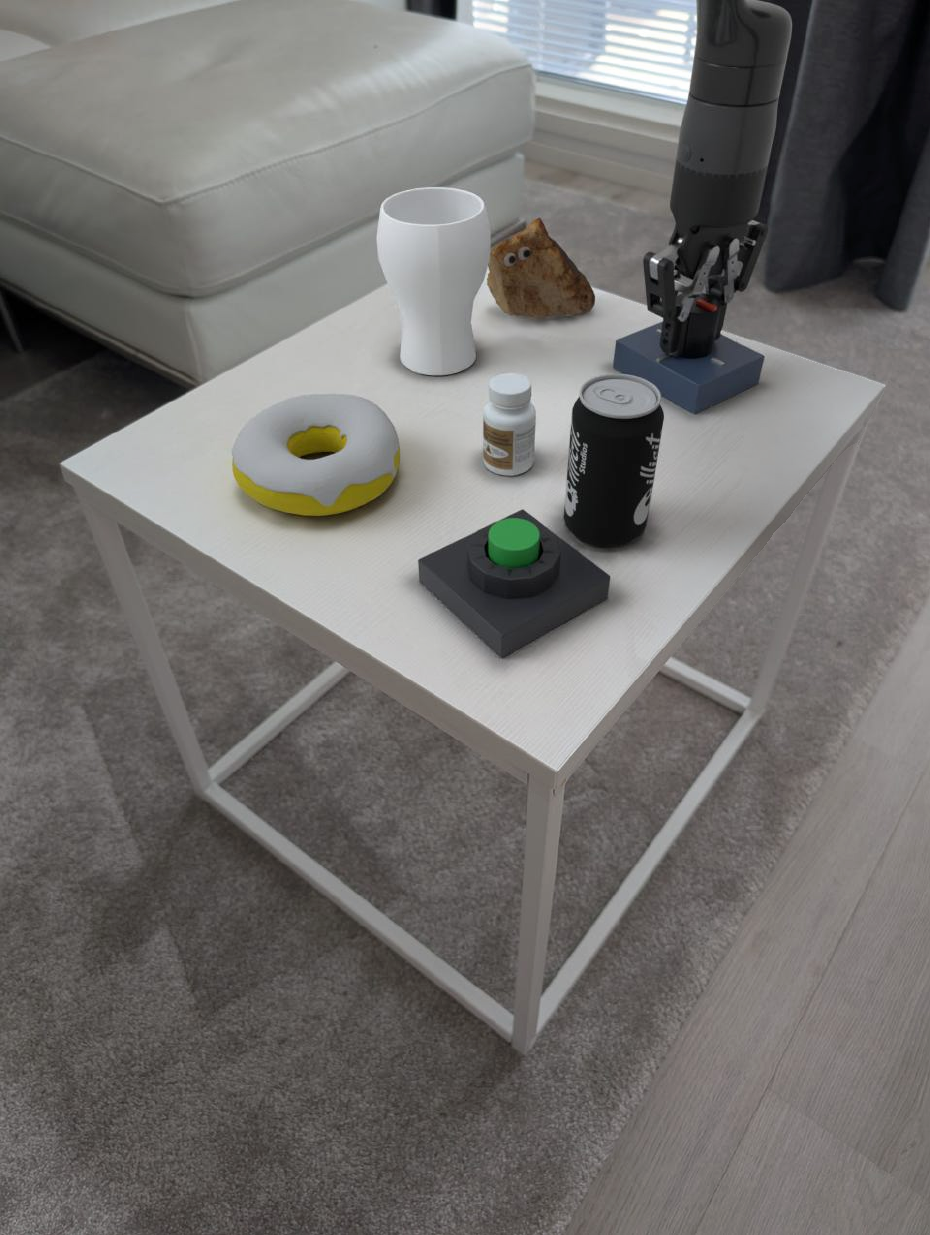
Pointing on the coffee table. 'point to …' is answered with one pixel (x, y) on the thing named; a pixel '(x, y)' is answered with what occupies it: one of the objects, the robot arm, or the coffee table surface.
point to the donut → (311, 427)
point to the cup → (435, 272)
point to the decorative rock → (537, 277)
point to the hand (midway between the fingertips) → (690, 344)
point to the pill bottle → (509, 425)
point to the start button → (514, 543)
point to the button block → (513, 587)
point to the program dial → (701, 326)
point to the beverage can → (612, 459)
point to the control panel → (689, 369)
